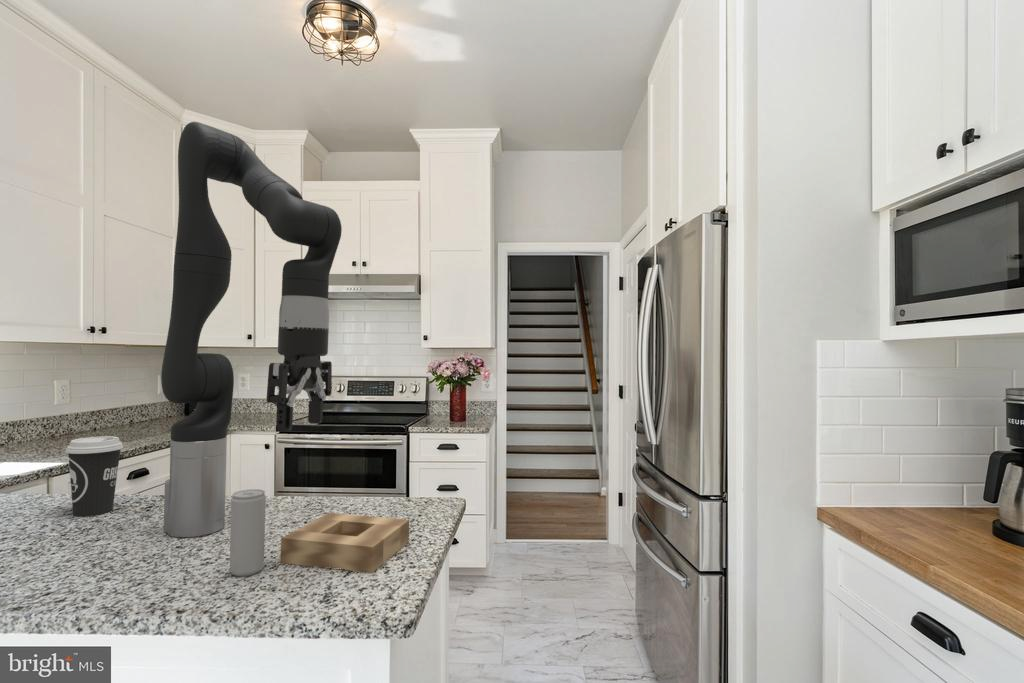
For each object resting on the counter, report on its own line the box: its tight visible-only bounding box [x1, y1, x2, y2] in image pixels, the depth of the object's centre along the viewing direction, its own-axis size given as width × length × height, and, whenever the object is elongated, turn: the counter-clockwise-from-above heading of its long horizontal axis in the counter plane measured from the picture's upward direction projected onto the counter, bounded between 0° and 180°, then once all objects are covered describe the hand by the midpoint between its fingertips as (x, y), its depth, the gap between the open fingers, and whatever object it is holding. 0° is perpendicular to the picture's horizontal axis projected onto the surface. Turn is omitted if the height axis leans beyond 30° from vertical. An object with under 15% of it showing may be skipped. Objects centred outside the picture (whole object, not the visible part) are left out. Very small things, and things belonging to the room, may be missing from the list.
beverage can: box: [229, 488, 266, 577], centre depth 83 cm, size 5×5×12 cm
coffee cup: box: [64, 435, 124, 518], centre depth 112 cm, size 10×10×15 cm
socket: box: [280, 512, 410, 574], centre depth 92 cm, size 16×14×4 cm
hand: (300, 426), depth 87 cm, fingers open, 8 cm apart
